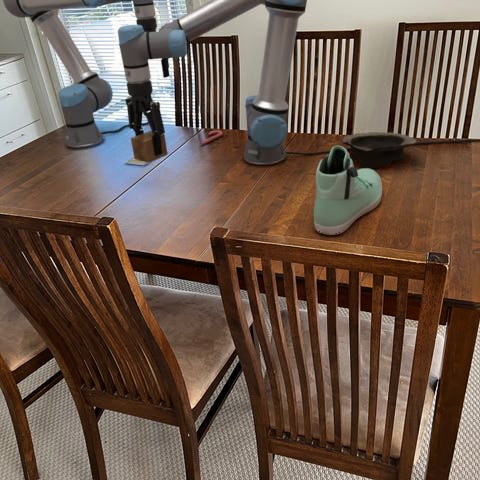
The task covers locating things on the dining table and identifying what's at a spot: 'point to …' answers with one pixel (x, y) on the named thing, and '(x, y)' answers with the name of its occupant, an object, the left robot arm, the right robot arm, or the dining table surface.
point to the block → (147, 147)
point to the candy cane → (219, 133)
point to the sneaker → (343, 192)
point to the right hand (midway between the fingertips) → (150, 152)
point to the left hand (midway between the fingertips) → (154, 75)
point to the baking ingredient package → (136, 162)
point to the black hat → (378, 147)
